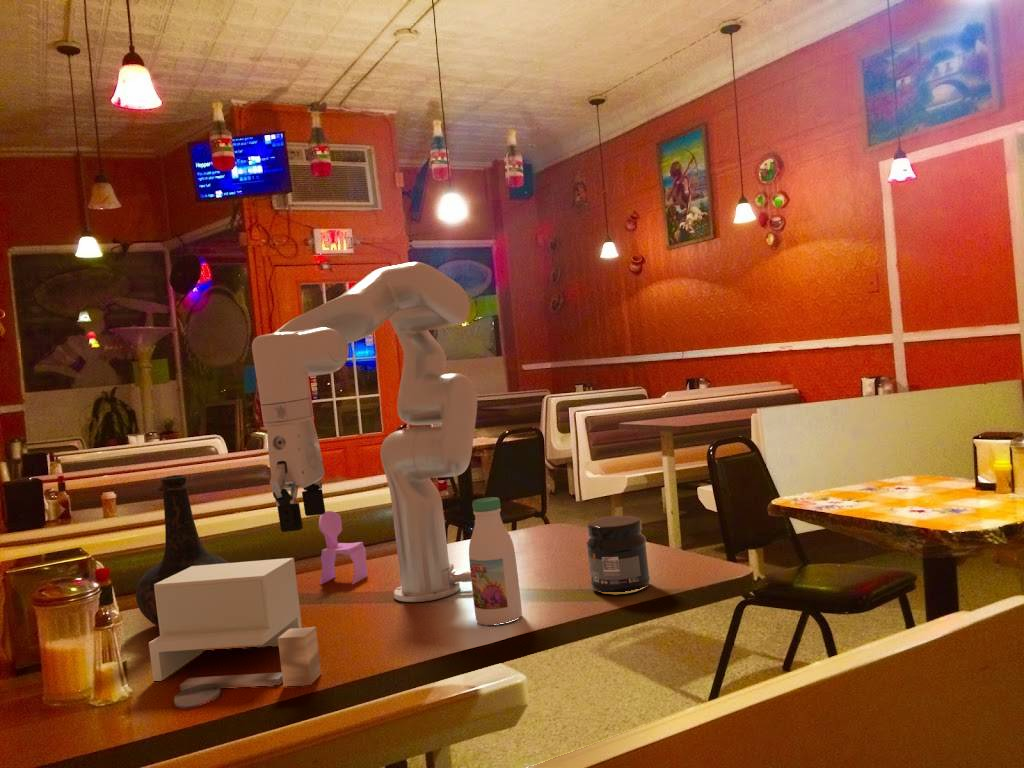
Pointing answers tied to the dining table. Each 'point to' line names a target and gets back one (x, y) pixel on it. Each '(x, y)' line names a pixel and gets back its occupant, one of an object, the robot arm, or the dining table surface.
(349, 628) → the dining table surface
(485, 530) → the milk bottle
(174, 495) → the glass bottle
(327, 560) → the toy chair
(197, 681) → the tool
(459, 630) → the dining table surface
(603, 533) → the supplement container
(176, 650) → the white box on stand
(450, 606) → the dining table surface
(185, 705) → the token
